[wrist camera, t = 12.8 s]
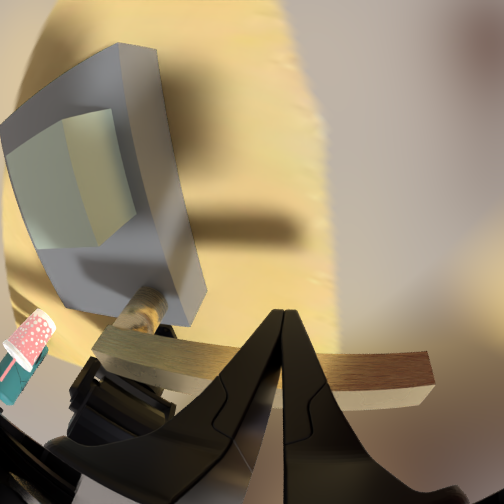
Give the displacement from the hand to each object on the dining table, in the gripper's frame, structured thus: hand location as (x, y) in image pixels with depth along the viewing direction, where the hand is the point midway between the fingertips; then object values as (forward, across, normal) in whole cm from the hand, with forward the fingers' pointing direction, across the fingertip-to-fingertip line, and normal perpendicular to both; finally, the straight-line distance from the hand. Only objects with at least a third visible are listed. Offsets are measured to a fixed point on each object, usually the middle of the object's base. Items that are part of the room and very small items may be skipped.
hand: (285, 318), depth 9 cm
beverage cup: (+9, +38, +16) cm, 42 cm away
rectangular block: (+5, +11, -5) cm, 13 cm away
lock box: (+9, +14, -2) cm, 17 cm away
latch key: (+4, +2, +4) cm, 6 cm away
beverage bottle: (+9, +45, +21) cm, 50 cm away
